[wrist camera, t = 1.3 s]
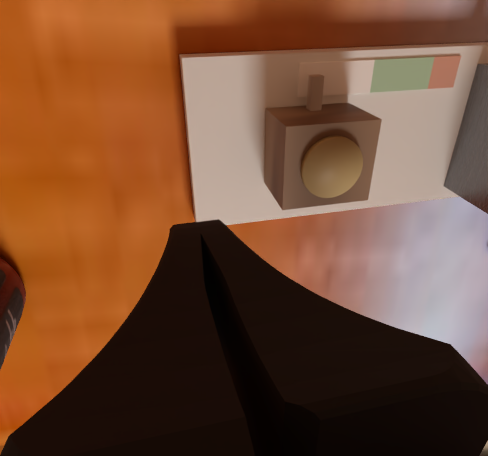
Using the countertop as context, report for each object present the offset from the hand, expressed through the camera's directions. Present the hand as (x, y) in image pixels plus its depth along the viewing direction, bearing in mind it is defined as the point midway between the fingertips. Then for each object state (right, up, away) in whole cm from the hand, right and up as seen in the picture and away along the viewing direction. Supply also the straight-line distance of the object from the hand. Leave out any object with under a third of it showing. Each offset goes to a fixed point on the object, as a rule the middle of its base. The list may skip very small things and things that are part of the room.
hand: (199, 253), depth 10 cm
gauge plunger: (+4, +5, +7) cm, 10 cm away
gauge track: (+6, +6, +9) cm, 12 cm away
